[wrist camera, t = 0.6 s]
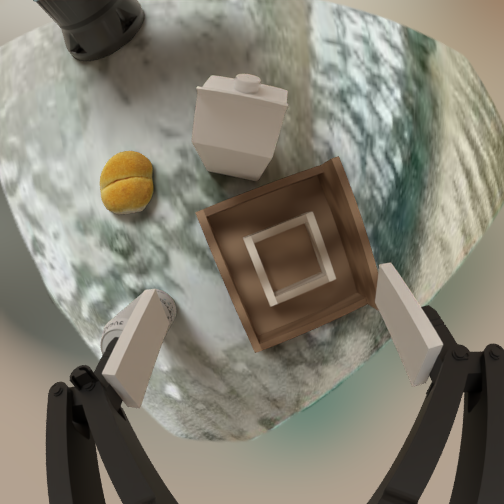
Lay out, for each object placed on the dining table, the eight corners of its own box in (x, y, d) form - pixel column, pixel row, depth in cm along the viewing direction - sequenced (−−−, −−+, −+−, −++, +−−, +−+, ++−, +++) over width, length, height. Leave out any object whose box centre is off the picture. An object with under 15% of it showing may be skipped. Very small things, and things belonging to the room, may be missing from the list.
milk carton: (257, 181, 38) (279, 147, 19) (206, 171, 38) (183, 128, 19) (268, 134, 37) (296, 69, 19) (218, 124, 37) (208, 52, 18)
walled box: (199, 213, 38) (190, 211, 30) (319, 167, 38) (338, 156, 30) (253, 341, 41) (257, 367, 33) (361, 294, 41) (387, 308, 33)
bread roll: (152, 148, 37) (145, 141, 33) (157, 209, 38) (149, 208, 34) (102, 159, 36) (90, 154, 32) (105, 217, 37) (93, 217, 33)
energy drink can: (182, 322, 40) (158, 374, 25) (145, 329, 39) (108, 379, 25) (171, 283, 39) (138, 318, 24) (133, 291, 39) (87, 327, 24)
